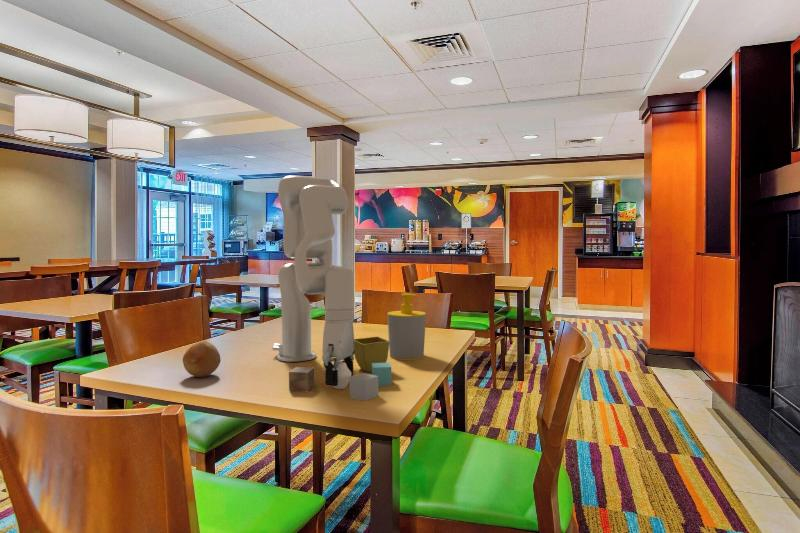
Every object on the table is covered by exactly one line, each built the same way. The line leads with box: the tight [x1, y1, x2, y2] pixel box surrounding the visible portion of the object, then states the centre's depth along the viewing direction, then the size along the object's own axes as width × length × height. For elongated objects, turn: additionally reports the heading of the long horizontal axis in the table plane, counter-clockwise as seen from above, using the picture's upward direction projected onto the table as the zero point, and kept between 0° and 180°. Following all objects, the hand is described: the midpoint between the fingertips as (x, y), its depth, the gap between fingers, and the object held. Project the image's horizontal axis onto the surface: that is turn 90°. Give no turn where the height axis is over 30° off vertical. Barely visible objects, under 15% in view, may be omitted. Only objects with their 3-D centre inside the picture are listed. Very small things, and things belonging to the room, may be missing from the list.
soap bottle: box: [386, 292, 427, 361], centre depth 156 cm, size 13×13×21 cm
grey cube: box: [349, 372, 379, 402], centre depth 114 cm, size 5×5×5 cm
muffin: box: [332, 360, 352, 390], centre depth 122 cm, size 6×6×7 cm
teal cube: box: [371, 362, 392, 387], centre depth 126 cm, size 5×5×5 cm
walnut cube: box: [288, 366, 315, 392], centre depth 121 cm, size 5×5×5 cm
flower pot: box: [353, 336, 389, 373], centre depth 139 cm, size 9×9×9 cm
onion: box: [182, 340, 222, 379], centre depth 132 cm, size 10×10×10 cm
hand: (339, 380), depth 122 cm, fingers open, 9 cm apart
